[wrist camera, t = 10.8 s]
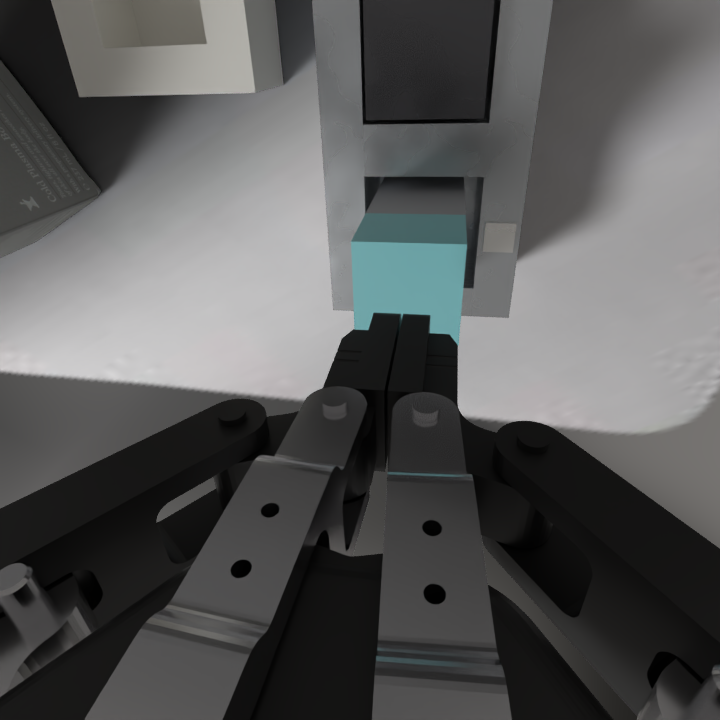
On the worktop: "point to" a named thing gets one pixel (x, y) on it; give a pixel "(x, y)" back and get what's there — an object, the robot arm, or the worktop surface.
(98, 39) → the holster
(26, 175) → the skincare box
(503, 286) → the metal switch box
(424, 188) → the plug
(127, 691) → the robot arm
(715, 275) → the worktop surface
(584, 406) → the worktop surface
